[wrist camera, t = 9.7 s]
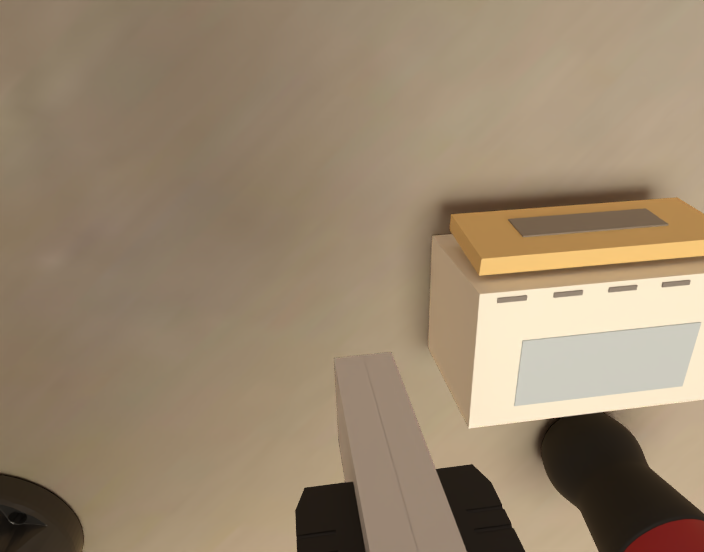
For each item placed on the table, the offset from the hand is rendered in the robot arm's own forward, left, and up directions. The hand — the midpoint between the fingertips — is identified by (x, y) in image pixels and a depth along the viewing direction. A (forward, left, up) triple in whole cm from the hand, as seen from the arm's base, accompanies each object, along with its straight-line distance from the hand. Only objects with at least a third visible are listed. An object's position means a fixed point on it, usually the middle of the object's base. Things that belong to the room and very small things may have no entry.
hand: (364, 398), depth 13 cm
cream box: (+18, -10, -24) cm, 32 cm away
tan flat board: (+18, -4, -19) cm, 26 cm away
